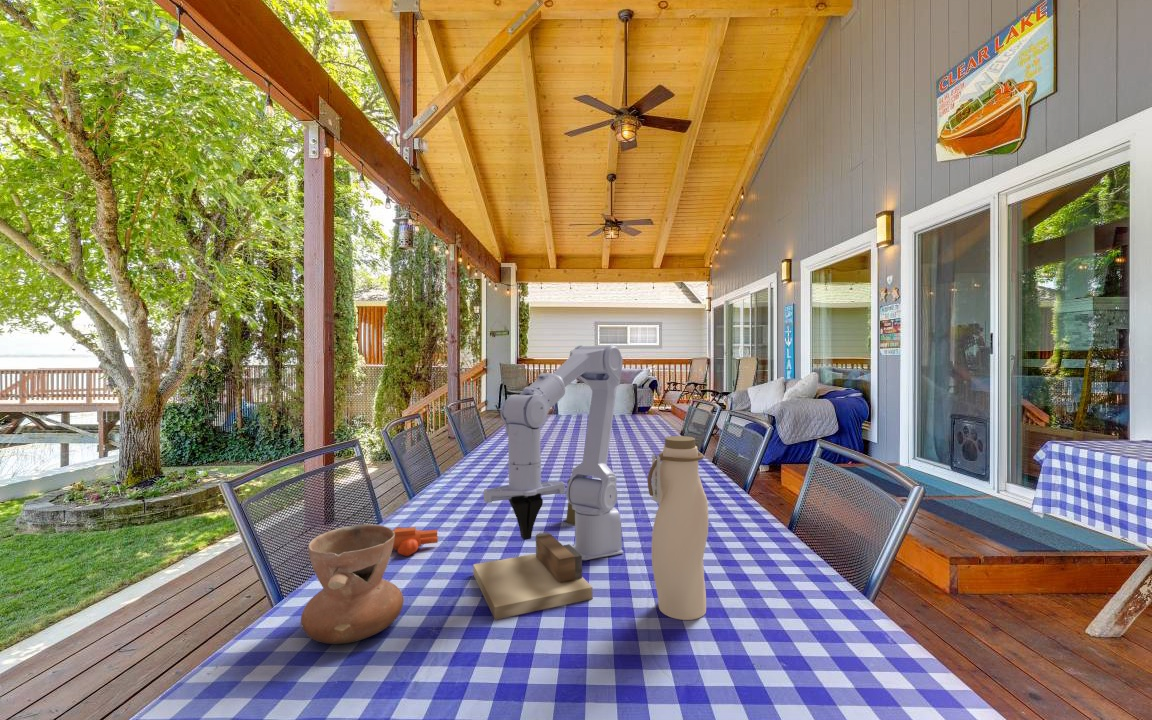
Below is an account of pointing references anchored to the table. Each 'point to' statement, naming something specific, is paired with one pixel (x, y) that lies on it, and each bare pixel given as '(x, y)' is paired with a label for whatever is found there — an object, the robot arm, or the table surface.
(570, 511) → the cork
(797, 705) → the table surface
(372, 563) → the ceramic jug
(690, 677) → the table surface
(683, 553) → the water bottle
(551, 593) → the board
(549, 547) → the folding leg
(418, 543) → the orange blocky toy
